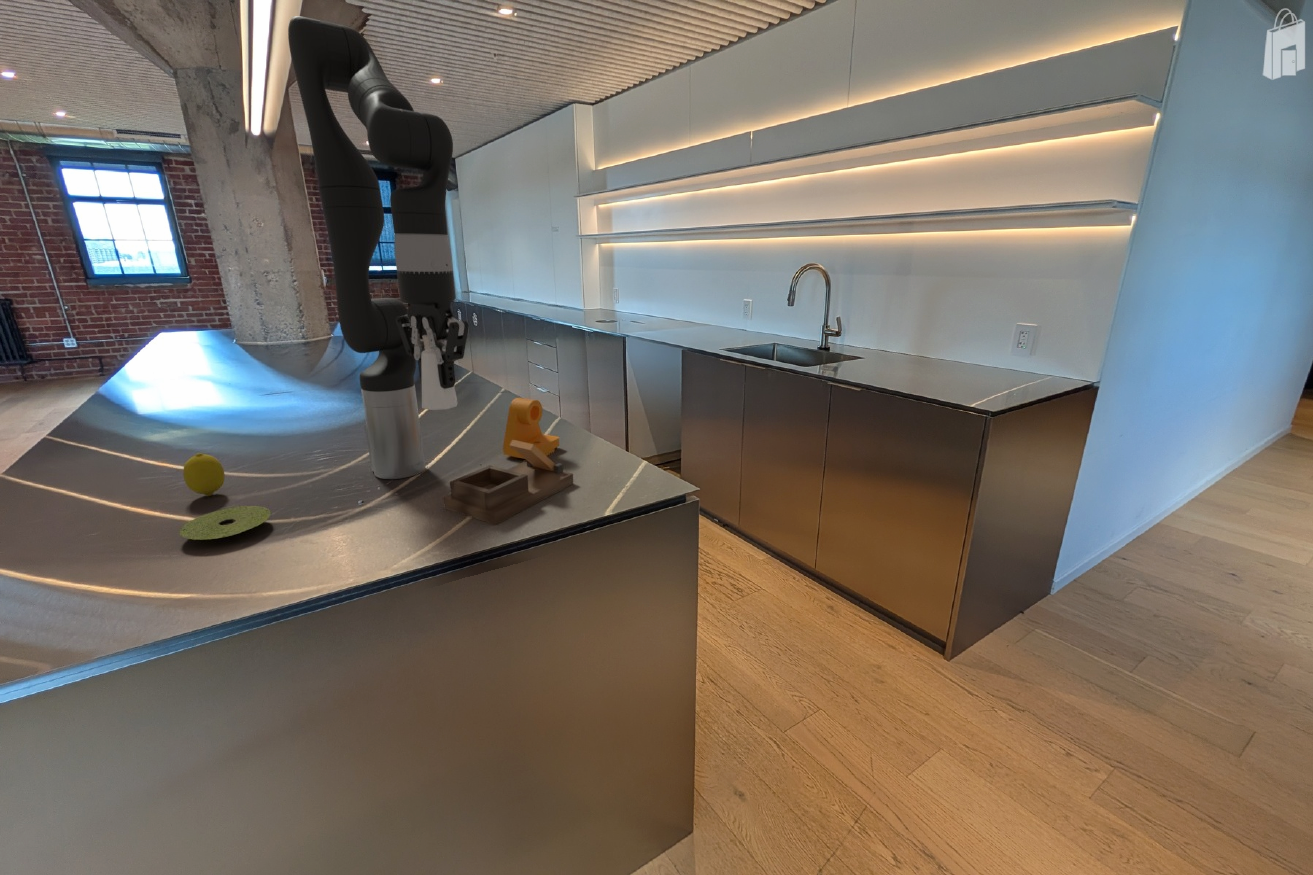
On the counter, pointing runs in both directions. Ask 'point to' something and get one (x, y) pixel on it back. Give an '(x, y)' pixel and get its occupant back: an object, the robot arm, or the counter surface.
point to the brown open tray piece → (504, 490)
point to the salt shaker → (434, 382)
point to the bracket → (527, 427)
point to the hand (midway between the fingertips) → (437, 385)
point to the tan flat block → (533, 455)
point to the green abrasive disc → (225, 522)
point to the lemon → (203, 474)
